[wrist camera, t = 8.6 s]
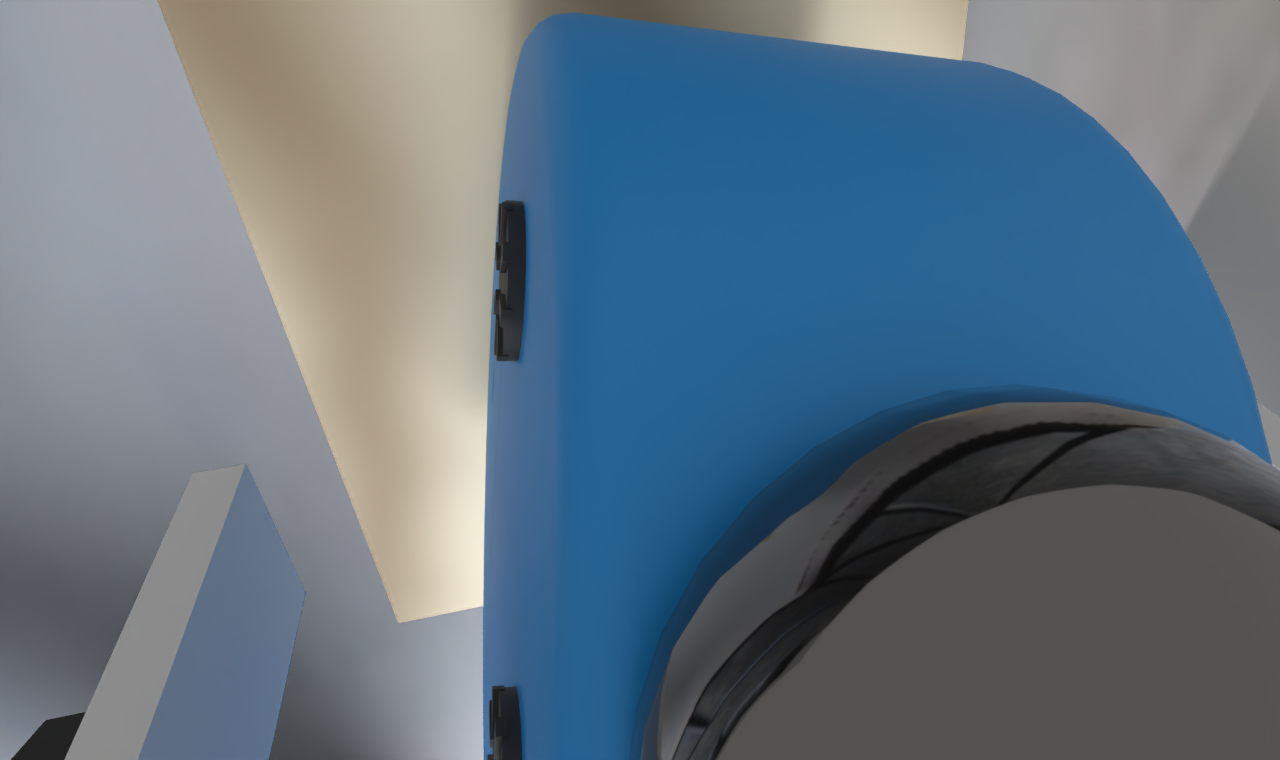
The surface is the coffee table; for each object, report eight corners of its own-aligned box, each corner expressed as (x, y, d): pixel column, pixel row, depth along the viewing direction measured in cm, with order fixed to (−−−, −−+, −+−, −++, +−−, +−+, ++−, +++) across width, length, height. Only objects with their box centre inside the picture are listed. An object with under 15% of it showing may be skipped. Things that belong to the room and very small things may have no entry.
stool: (413, 450, 28) (398, 623, 21) (239, -100, 19) (127, -77, 13) (814, 376, 29) (910, 519, 23) (827, -170, 20) (989, -181, 14)
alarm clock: (708, 537, 22) (1037, 1459, 9) (468, 541, 20) (471, 1631, 8) (837, -5, 15) (2692, 684, 2) (492, -52, 14) (778, 947, 1)
